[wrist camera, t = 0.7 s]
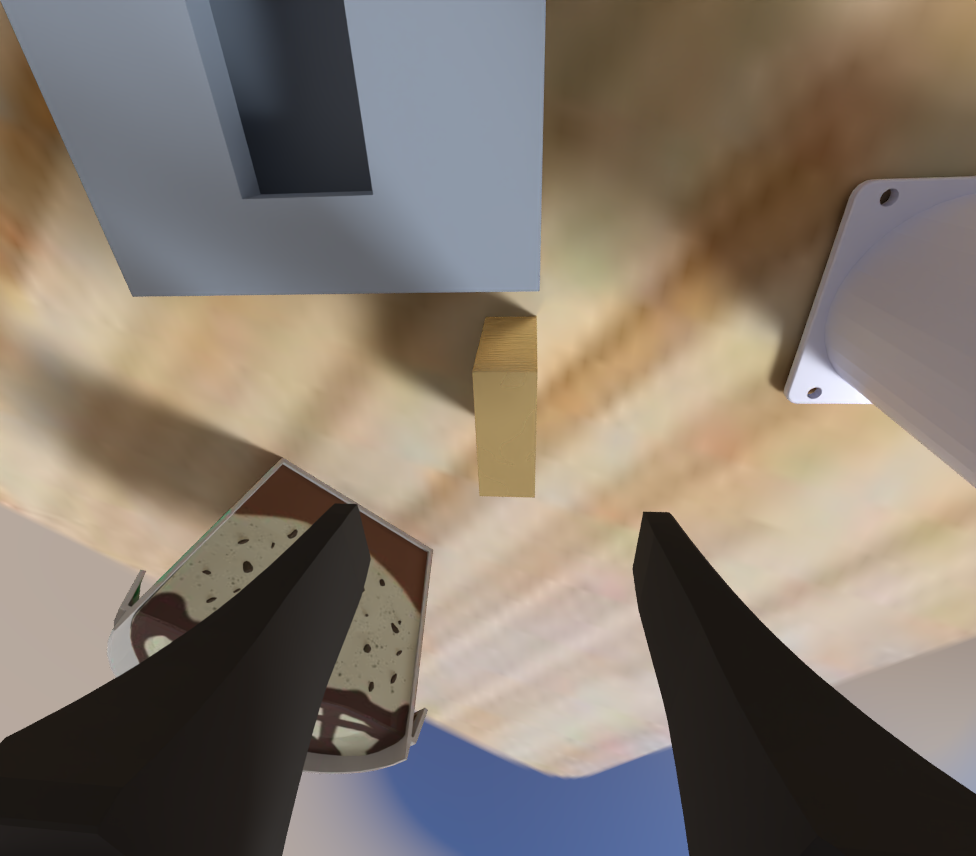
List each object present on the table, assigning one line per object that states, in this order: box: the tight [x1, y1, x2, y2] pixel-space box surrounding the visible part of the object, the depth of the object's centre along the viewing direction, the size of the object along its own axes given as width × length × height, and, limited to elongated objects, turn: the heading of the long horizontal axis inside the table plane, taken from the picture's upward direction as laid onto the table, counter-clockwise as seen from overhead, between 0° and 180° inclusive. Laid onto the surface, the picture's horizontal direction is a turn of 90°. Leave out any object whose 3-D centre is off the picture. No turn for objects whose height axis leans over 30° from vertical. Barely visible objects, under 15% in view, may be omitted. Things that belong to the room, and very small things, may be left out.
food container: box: [107, 457, 433, 774], centre depth 22 cm, size 12×6×10 cm, turn 50°
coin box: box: [0, 0, 546, 297], centre depth 12 cm, size 12×12×5 cm
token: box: [472, 317, 537, 497], centre depth 18 cm, size 2×5×5 cm, turn 2°
